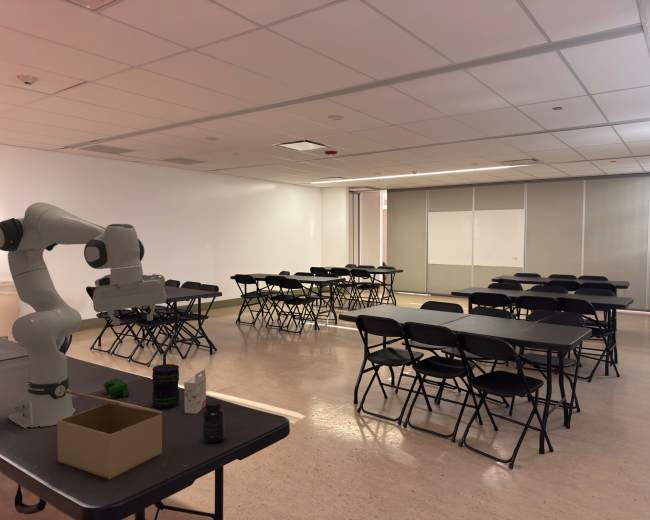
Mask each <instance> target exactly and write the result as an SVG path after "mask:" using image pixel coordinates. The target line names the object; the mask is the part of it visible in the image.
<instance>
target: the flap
mask: <svg viewBox="0 0 650 520" xmlns="http://www.w3.org/2000/svg"><path fill="white" fill-rule="evenodd" d="M63 392H64V393H68V394H71V396H73V395H74V396H77V397H81V398H85V399H90V400H94V401H98V402H102V403H105V404H107V403H110V404H114V405H119V406H125V407H130V408H136V409H141V410H146V411H152V412H156V413H161V414H163V410H156V409H154V408H151V407H145V406H140V405H136V404H133V403H132V404H131V403H127V402H124V401H120V400H119V401H118V400H115V399H112V398H111V399H110V398H104V397H100V396H94V395H89V394H85V393H80V392H75V391H71V390H70V391H66V390H63Z"/></svg>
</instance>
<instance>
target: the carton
mask: <svg viewBox="0 0 650 520" xmlns="http://www.w3.org/2000/svg"><path fill="white" fill-rule="evenodd" d="M56 425H57V428H56V429H57V430H56V431H57V462H58V461H59V462H58V463H60V462H61V463H60V464H63V463H64V464H63V465H65V464H66V466H68V465H69V467H71V466H72V468H74V467H75V469H77V468H78V470H80V471H83V470H84V471H83V472H86V471H87V472H86V473H89V474H91V475H95V476H98V477H101V478H104V479H106V480H113V479H115V478H117V477H120V476H121V475H122V474H125V473H126V472H128V471H130V470H133V469H134V468H136V467H139V466H140V465H143V464H144V463H146V462H148V461H150V460H152V459H153V458H155V457H158V456H159V455H162V454H163V413H157V412H152V411H146V410H141V409H136V408H130V407H125V406H119V405H114V404H110V403H104V404H101V405H98V406H95V407H93V408H90V409H86V410H84V411H81V412H79V413H76V414H73V415H72V416H69V417H66V418H63V419H61V420H58V421H57V424H56Z"/></svg>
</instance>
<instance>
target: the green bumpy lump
mask: <svg viewBox="0 0 650 520" xmlns="http://www.w3.org/2000/svg"><path fill="white" fill-rule="evenodd" d="M103 388H104V389H105V391H106V395H107V396H110V398H111V399H115V398H116V397H120V396H121V397H123V398H126V397H128V396H130V391H129V389H128V385H127V383H126V382H124V381H123V380H121V379H120V378H119V377H116V378H112V379H110V380H108V381H106V382H104V383H103Z"/></svg>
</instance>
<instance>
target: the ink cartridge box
mask: <svg viewBox="0 0 650 520" xmlns="http://www.w3.org/2000/svg"><path fill="white" fill-rule="evenodd" d="M183 386H184V387H183V388H184V389H183V390H184V391H183V393H184V396H183V397H184V414H194V415H197V414H198V413H199V412H201V411H202V410H203V409H204V408H205V407H206V403H207V377H206V369H202V370H200V371H198V373H195V374H194V376H193V377H190V378H189V379H187V380H185V381H184V382H183Z"/></svg>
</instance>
